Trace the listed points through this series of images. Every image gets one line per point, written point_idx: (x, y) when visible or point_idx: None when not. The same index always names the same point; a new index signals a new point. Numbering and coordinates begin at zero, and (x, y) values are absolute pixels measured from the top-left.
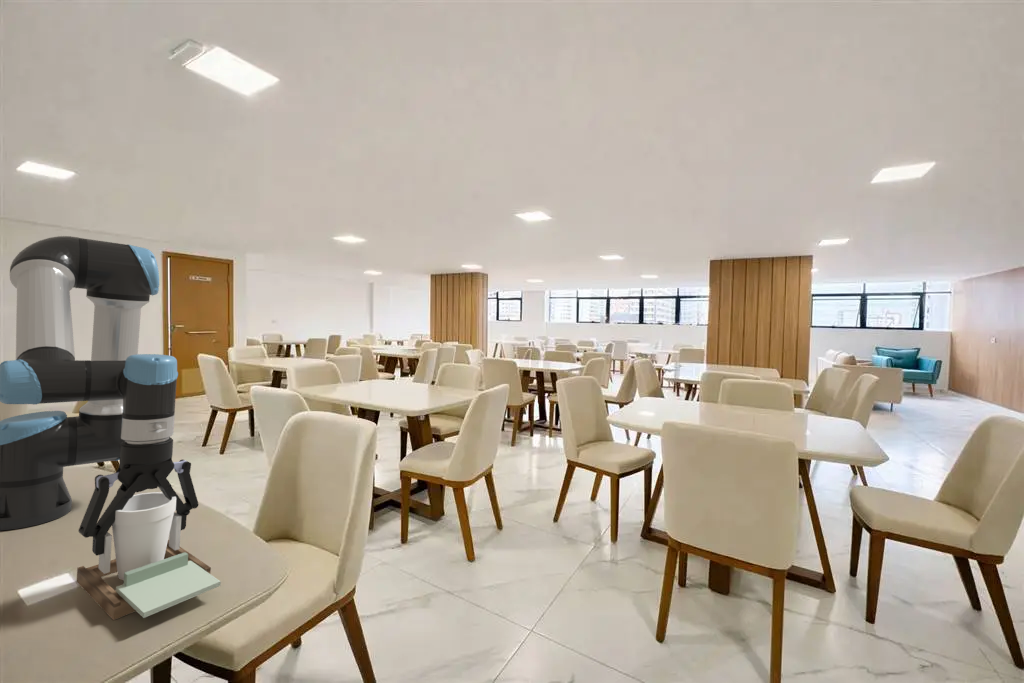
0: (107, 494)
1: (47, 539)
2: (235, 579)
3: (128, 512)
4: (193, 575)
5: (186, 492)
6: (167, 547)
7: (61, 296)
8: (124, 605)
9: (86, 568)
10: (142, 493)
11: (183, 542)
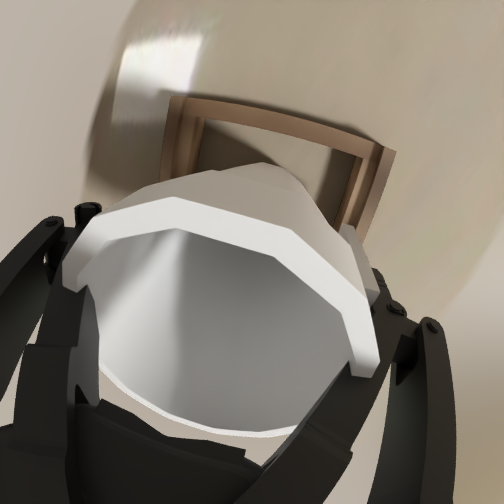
0: (6, 385)
1: None
2: None
3: (114, 380)
4: None
5: (394, 414)
6: (367, 175)
7: None
8: None
9: (191, 100)
10: (293, 236)
11: (432, 138)
